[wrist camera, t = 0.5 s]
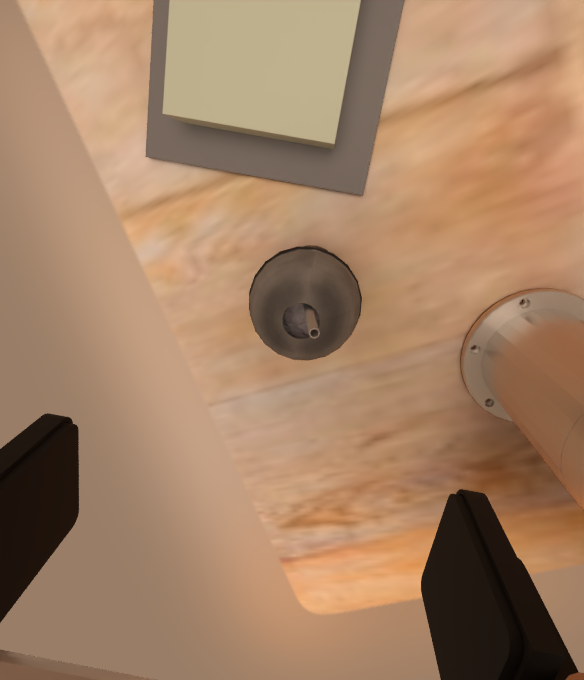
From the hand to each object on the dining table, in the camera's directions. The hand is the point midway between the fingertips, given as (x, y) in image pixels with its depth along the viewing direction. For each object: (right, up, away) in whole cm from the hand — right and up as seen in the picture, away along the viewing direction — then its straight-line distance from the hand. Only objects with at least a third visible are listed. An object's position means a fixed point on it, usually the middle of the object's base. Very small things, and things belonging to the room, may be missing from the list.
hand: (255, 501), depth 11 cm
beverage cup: (+3, +10, +29) cm, 31 cm away
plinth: (-1, +26, +23) cm, 35 cm away
